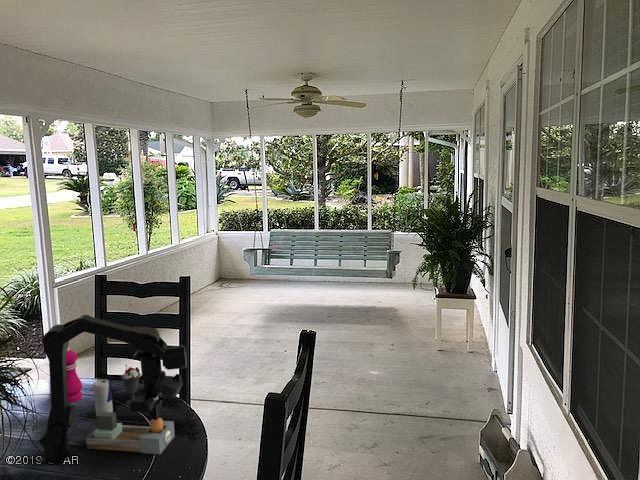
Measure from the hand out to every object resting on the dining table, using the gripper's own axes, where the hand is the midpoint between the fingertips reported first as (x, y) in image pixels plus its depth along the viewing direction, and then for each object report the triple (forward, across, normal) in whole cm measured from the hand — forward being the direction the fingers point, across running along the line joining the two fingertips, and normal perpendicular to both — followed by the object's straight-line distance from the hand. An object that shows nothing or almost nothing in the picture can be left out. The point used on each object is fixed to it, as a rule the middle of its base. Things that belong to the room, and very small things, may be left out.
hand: (155, 419), depth 159 cm
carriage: (+6, 0, +16) cm, 18 cm away
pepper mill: (+9, +25, +46) cm, 53 cm away
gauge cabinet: (+8, 0, 0) cm, 8 cm away
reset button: (+5, 0, 0) cm, 5 cm away
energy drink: (+8, +15, +27) cm, 32 cm away
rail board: (+8, 0, +12) cm, 15 cm away
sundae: (+8, +25, +22) cm, 34 cm away
